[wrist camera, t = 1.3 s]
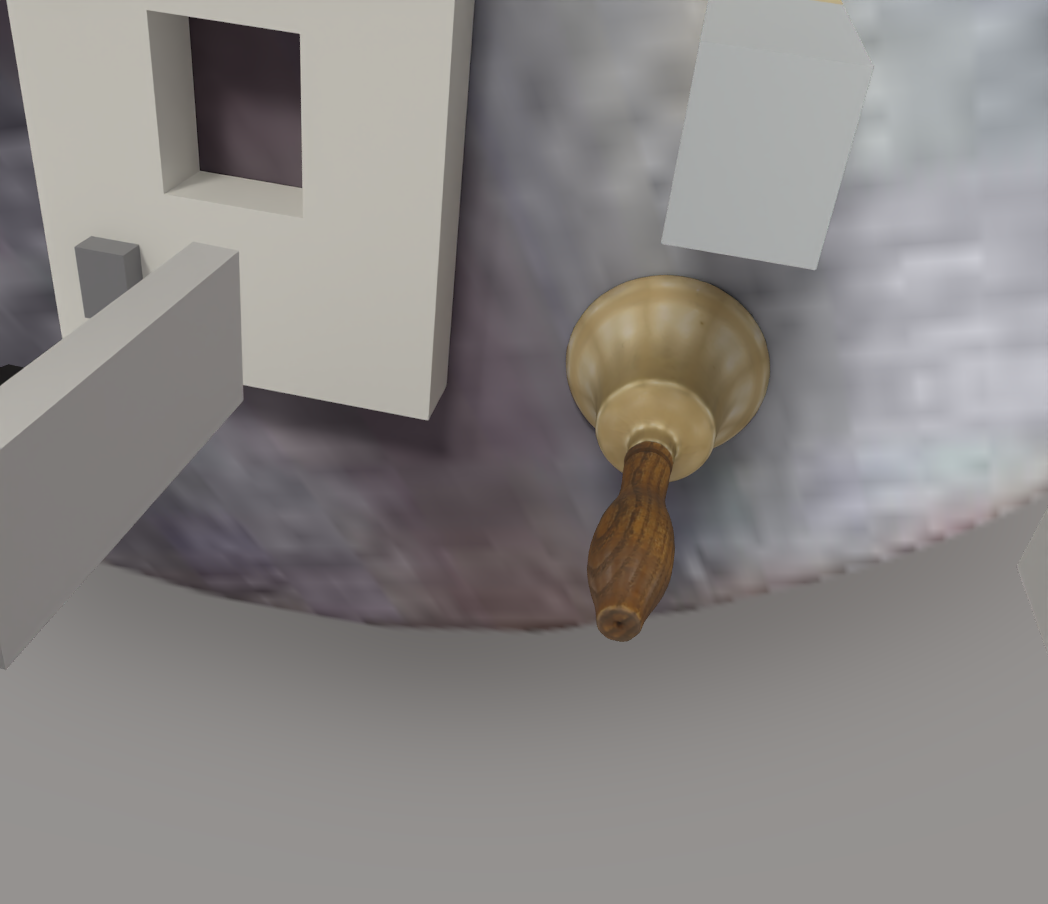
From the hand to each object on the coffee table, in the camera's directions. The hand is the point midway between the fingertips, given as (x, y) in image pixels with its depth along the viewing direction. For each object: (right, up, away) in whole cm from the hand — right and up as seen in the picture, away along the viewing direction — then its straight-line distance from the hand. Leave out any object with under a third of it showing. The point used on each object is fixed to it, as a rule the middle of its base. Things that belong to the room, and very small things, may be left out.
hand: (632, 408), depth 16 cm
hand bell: (+4, +3, +26) cm, 26 cm away
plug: (+6, +13, +19) cm, 23 cm away
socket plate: (-12, +13, +23) cm, 29 cm away
